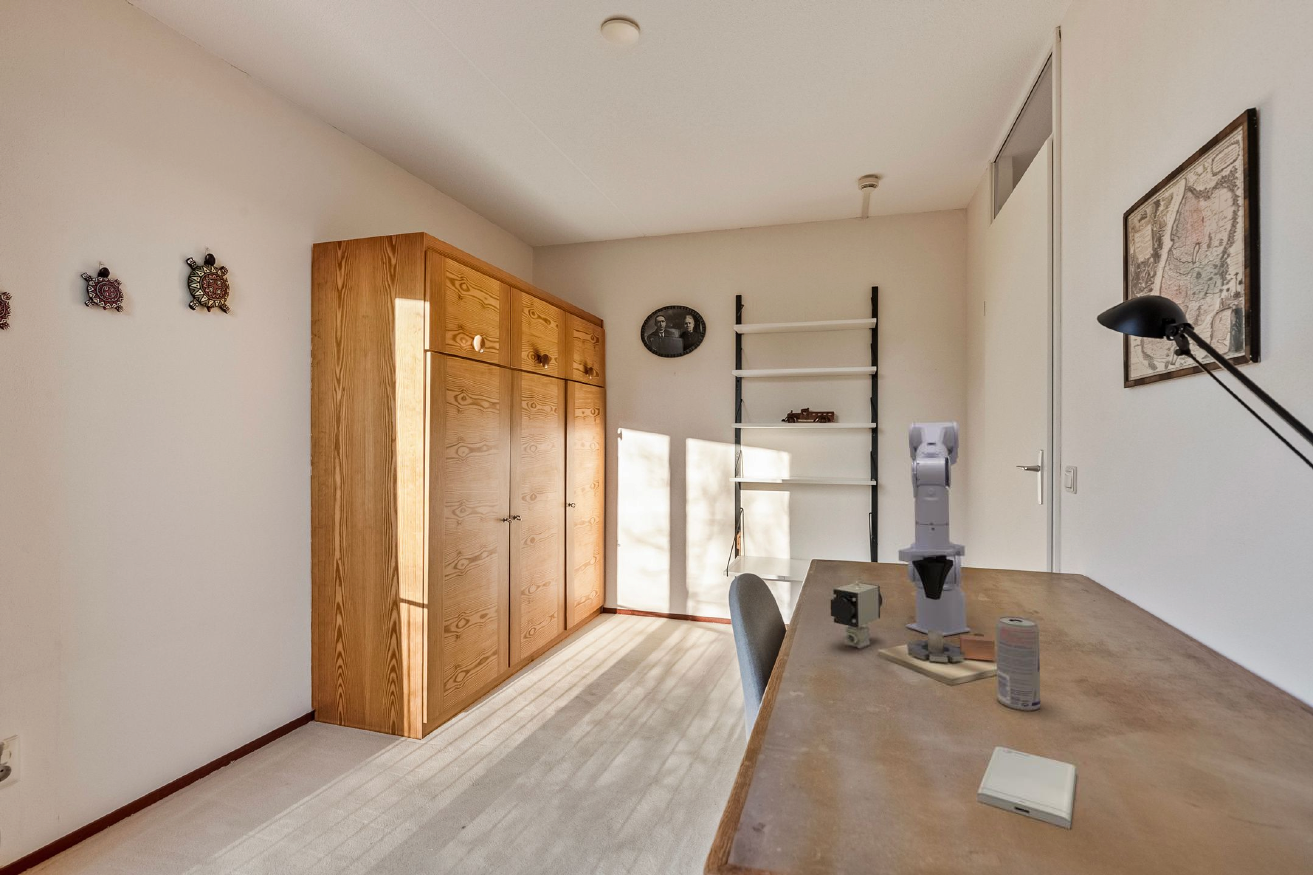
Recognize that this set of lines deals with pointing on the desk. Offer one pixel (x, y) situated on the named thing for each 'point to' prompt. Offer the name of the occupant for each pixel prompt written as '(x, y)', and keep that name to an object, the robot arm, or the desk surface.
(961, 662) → the board
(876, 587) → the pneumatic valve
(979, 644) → the segmented ring with bar
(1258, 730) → the desk surface
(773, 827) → the desk surface
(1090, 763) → the desk surface
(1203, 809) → the desk surface
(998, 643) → the energy drink
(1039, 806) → the hard drive
